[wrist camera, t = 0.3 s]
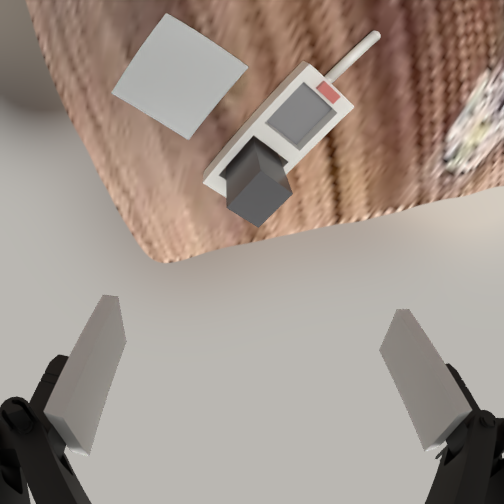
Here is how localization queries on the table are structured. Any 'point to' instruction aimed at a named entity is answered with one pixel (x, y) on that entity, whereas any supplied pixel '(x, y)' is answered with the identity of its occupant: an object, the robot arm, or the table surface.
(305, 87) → the power strip
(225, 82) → the mat
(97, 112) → the table surface
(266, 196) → the block
